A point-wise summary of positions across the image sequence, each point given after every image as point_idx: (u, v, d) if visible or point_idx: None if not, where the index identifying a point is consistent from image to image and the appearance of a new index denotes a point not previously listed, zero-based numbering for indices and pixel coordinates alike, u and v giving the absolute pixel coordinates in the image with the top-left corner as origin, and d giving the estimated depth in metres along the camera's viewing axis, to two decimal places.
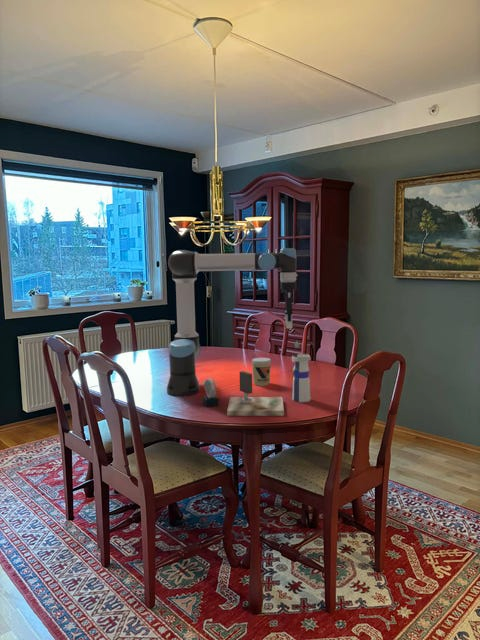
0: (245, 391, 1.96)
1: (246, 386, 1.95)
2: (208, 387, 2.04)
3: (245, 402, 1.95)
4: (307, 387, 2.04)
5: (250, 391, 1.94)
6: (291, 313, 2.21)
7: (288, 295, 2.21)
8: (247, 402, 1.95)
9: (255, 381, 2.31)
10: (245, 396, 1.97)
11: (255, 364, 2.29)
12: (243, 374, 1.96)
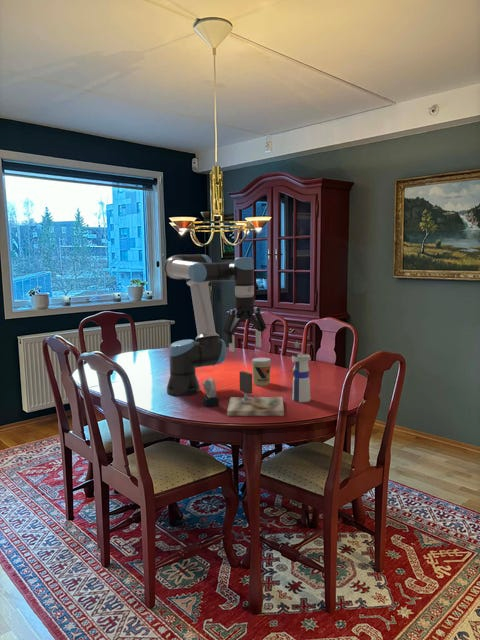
0: (245, 391, 1.96)
1: (246, 386, 1.95)
2: (208, 387, 2.04)
3: (245, 402, 1.95)
4: (307, 387, 2.04)
5: (250, 391, 1.94)
6: (229, 334, 1.88)
7: (230, 312, 1.89)
8: (247, 402, 1.95)
9: (255, 381, 2.31)
10: (245, 396, 1.97)
11: (255, 364, 2.29)
12: (243, 374, 1.96)
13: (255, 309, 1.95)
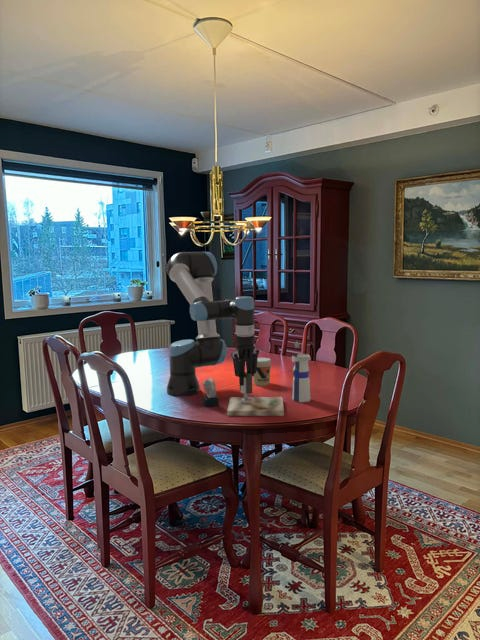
0: None
1: (246, 386, 1.95)
2: (208, 387, 2.04)
3: (245, 402, 1.95)
4: (307, 387, 2.04)
5: (250, 391, 1.94)
6: (241, 376, 1.94)
7: (233, 357, 1.91)
8: (247, 402, 1.95)
9: (255, 381, 2.31)
10: (245, 396, 1.97)
11: None
12: None
13: (255, 350, 1.97)
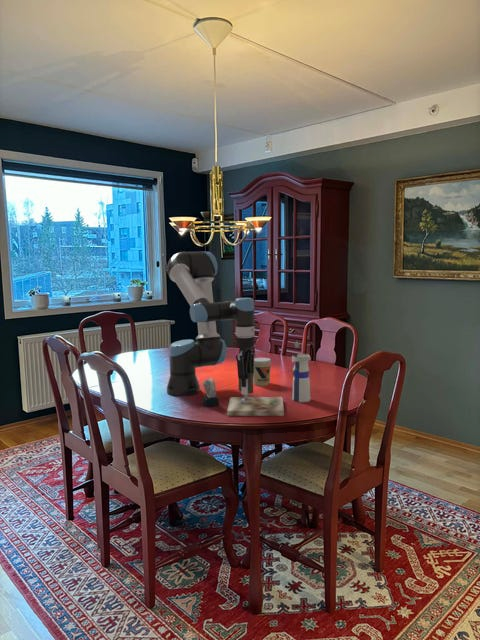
0: None
1: None
2: (208, 387, 2.04)
3: (246, 402, 1.95)
4: (307, 387, 2.04)
5: (251, 391, 1.95)
6: (244, 378, 1.93)
7: (238, 359, 1.90)
8: (248, 402, 1.96)
9: (255, 381, 2.31)
10: (245, 396, 1.97)
11: (255, 364, 2.29)
12: None
13: (251, 350, 1.99)
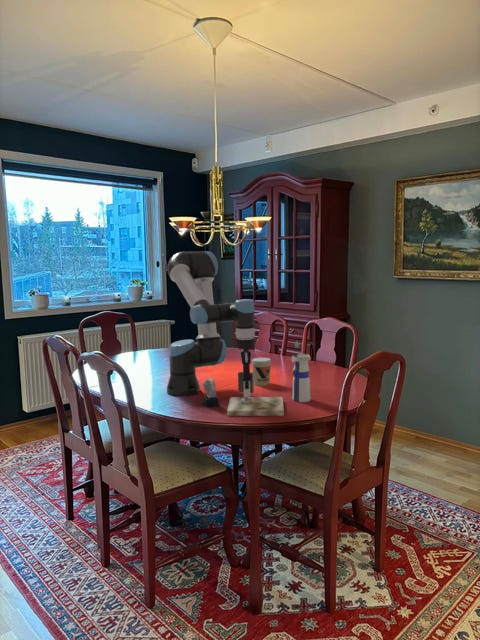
0: None
1: None
2: (208, 387, 2.04)
3: (248, 402, 1.96)
4: (307, 387, 2.04)
5: (252, 390, 1.96)
6: None
7: (245, 360, 1.89)
8: (250, 402, 1.96)
9: (255, 381, 2.31)
10: None
11: (255, 364, 2.29)
12: None
13: None
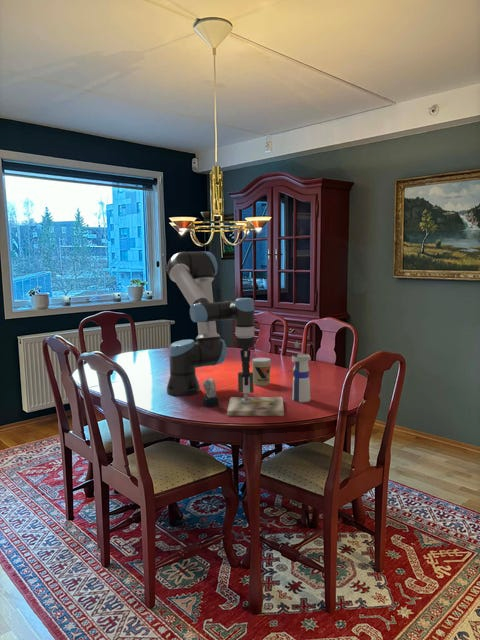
0: None
1: None
2: (208, 387, 2.04)
3: (249, 402, 1.96)
4: (307, 387, 2.04)
5: (253, 390, 1.96)
6: None
7: (245, 354, 1.88)
8: (250, 401, 1.96)
9: (255, 381, 2.31)
10: (246, 396, 1.97)
11: (255, 364, 2.29)
12: None
13: None
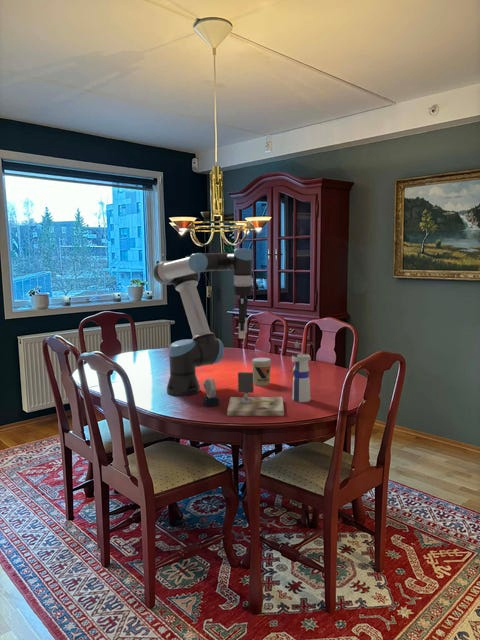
0: (247, 391, 1.96)
1: (249, 386, 1.95)
2: (208, 387, 2.04)
3: (249, 402, 1.96)
4: (307, 387, 2.04)
5: (253, 390, 1.96)
6: None
7: (241, 301, 1.97)
8: (250, 401, 1.96)
9: (255, 381, 2.31)
10: (246, 396, 1.97)
11: (255, 364, 2.29)
12: (244, 374, 1.95)
13: None
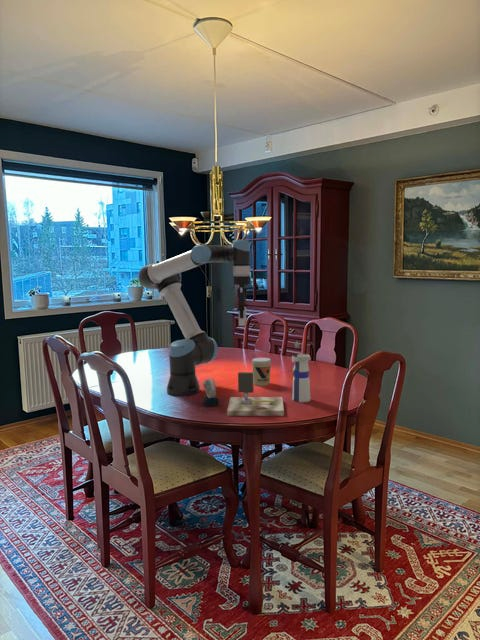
0: (247, 391, 1.96)
1: (249, 386, 1.95)
2: (208, 387, 2.04)
3: (249, 402, 1.96)
4: (307, 387, 2.04)
5: (253, 390, 1.96)
6: (243, 309, 2.06)
7: (240, 290, 2.07)
8: (250, 401, 1.96)
9: (255, 381, 2.31)
10: (246, 396, 1.97)
11: (255, 364, 2.29)
12: (244, 374, 1.95)
13: None
